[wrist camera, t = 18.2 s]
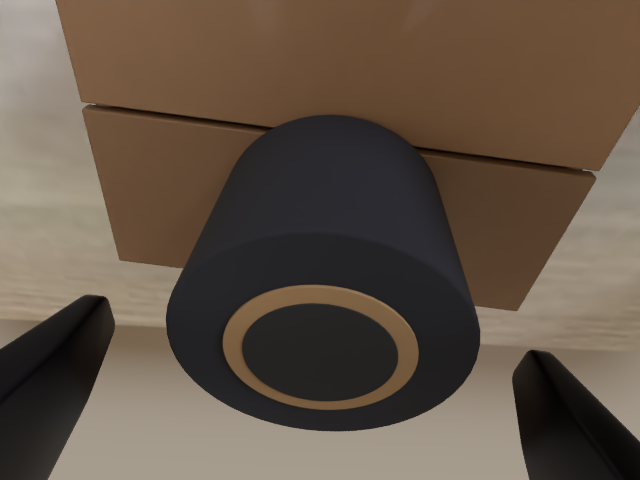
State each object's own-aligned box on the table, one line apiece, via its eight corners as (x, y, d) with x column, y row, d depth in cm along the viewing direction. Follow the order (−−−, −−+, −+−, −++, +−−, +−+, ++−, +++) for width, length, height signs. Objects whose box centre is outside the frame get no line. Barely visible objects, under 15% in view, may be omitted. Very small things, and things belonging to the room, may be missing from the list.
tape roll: (471, 131, 11) (541, 262, 7) (410, 303, 15) (430, 450, 11) (221, 97, 10) (138, 209, 6) (228, 279, 14) (179, 419, 10)
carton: (186, 163, 20) (117, 262, 14) (155, -145, 13) (2, -192, 7) (471, 200, 20) (518, 313, 14) (586, -83, 13) (758, -84, 8)
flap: (88, 97, 11) (81, 102, 11) (19, -183, 8) (5, -186, 8) (592, 164, 11) (599, 172, 11) (737, -80, 8) (752, -79, 8)
